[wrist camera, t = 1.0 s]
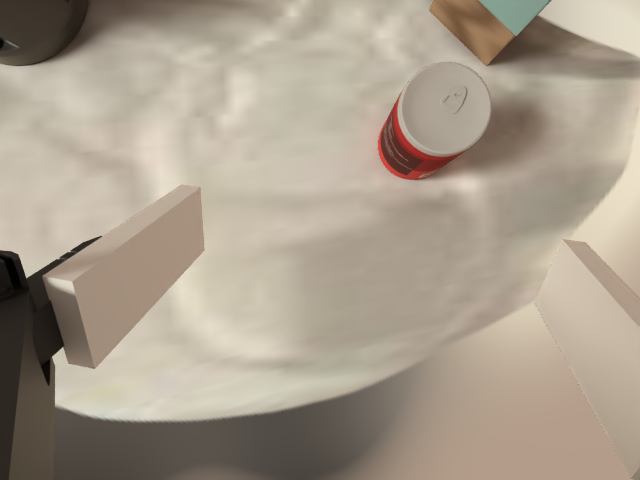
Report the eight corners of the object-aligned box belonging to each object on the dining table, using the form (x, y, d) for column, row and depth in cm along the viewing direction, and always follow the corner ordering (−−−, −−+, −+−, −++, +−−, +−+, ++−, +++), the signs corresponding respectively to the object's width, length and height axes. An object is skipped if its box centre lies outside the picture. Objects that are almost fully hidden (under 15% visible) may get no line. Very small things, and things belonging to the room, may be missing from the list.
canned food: (456, 127, 43) (507, 82, 32) (429, 193, 42) (470, 170, 31) (393, 100, 43) (422, 45, 32) (365, 165, 42) (384, 132, 31)
